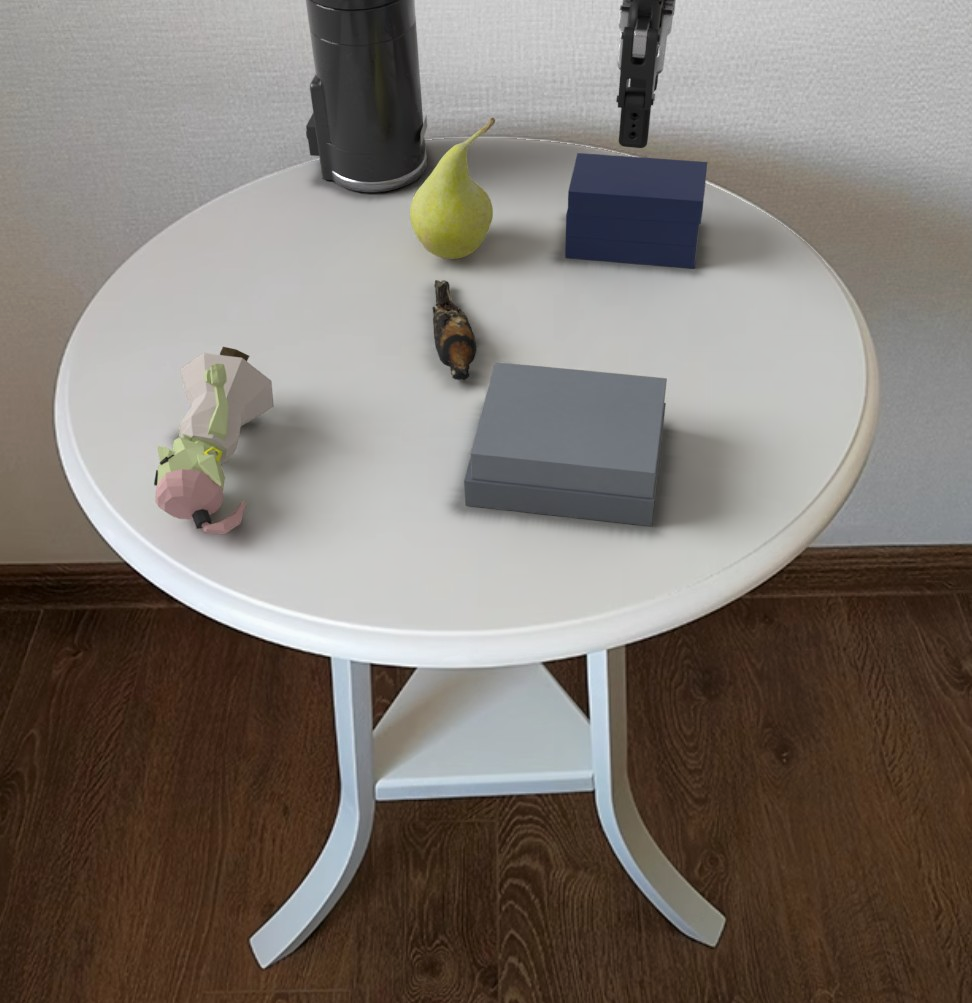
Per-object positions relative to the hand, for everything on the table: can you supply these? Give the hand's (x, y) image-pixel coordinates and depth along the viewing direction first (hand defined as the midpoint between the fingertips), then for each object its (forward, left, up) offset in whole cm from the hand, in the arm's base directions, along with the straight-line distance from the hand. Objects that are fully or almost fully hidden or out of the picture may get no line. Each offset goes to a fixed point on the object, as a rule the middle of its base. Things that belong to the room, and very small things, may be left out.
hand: (638, 116), depth 99 cm
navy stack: (0, 0, -12) cm, 12 cm away
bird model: (-13, -15, -12) cm, 23 cm away
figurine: (-27, -25, -8) cm, 37 cm away
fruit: (-15, -3, -12) cm, 19 cm away
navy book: (0, 0, -8) cm, 8 cm away
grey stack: (-2, -28, -12) cm, 31 cm away
